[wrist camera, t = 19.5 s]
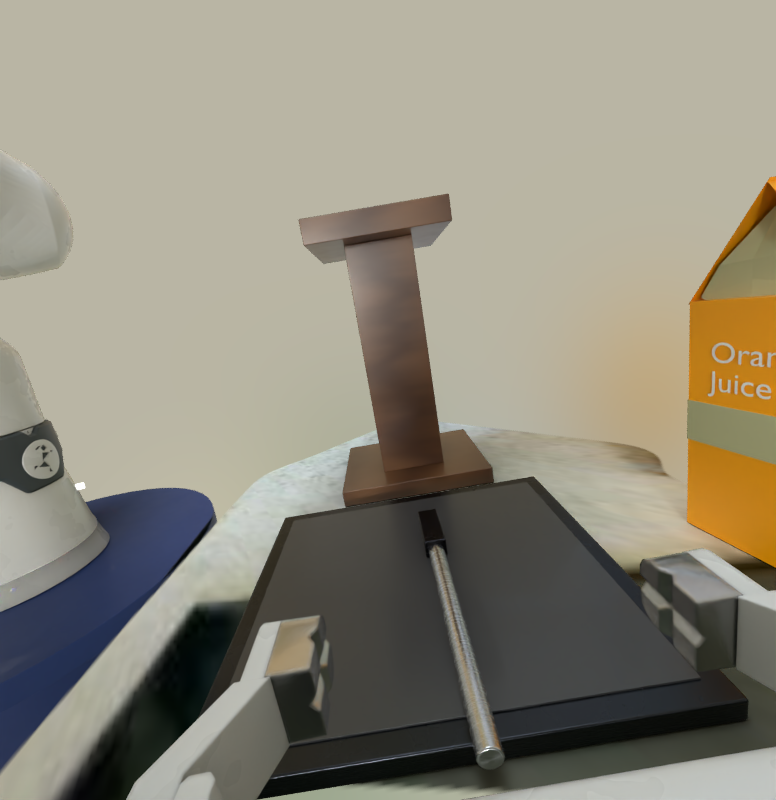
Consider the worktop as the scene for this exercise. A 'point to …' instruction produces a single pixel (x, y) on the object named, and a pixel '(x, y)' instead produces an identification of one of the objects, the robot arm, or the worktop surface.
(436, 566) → the stylus
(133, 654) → the worktop surface
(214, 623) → the worktop surface
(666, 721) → the tablet
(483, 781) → the worktop surface
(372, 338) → the brown wooden pedestal
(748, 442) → the orange juice
